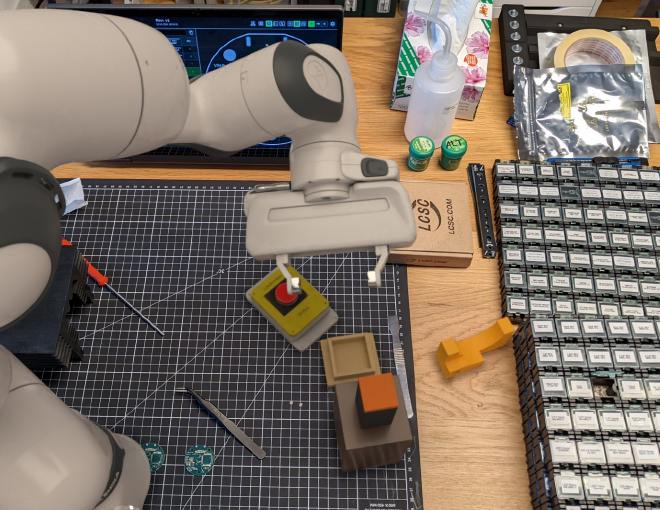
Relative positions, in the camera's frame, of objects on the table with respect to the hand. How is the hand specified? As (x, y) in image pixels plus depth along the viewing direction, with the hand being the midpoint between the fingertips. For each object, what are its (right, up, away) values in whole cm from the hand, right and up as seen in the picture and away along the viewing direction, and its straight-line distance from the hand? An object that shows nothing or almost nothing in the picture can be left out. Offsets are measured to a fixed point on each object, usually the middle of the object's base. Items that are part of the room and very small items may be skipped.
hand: (334, 290), depth 72 cm
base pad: (+3, -14, +31) cm, 34 cm away
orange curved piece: (+23, -13, +32) cm, 42 cm away
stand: (+5, -25, +25) cm, 36 cm away
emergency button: (-7, -5, +36) cm, 37 cm away
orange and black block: (+5, -17, +11) cm, 21 cm away
